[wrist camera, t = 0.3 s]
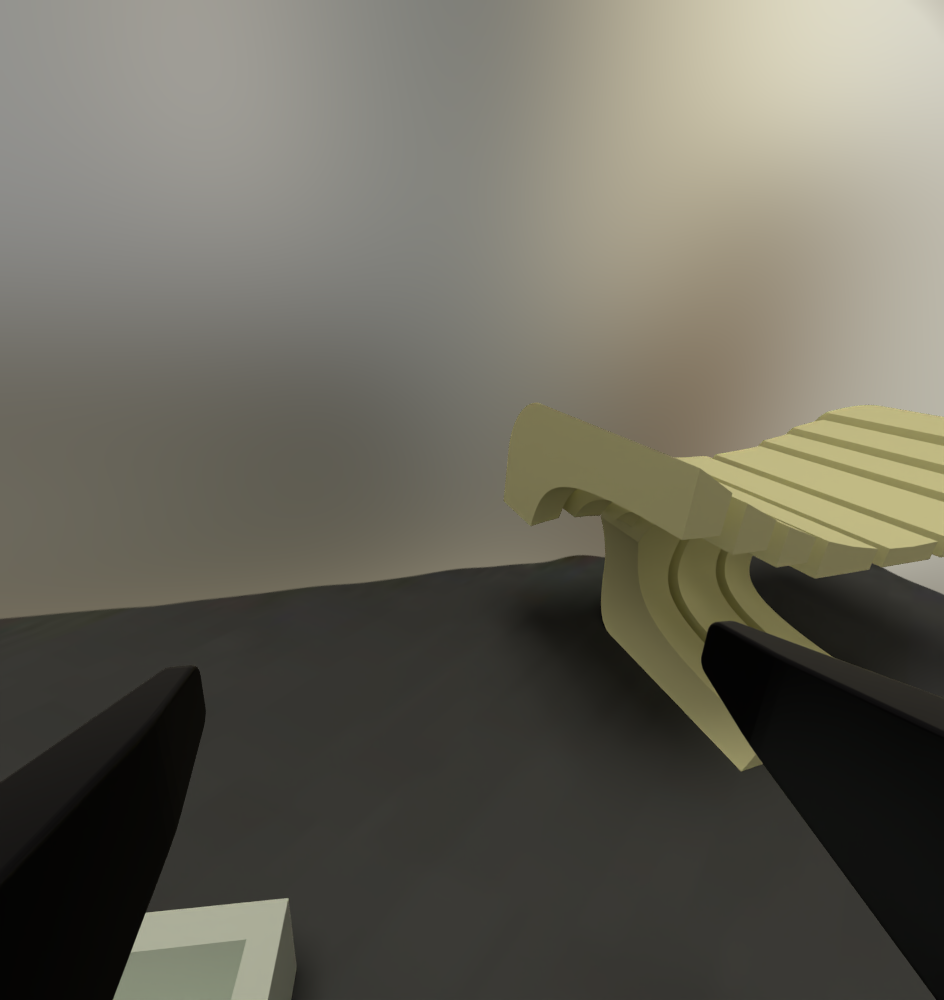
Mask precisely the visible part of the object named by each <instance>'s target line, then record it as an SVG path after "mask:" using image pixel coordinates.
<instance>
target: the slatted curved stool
mask: <svg viewBox="0 0 944 1000" xmlns="http://www.w3.org/2000/svg"><path fill="white" fill-rule="evenodd" d="M504 502H505V503H506V504H507V505H509V506H510V507H511V508H512V509H513V510H514V511H515V512H516V513H517V514H518V515H519V516H520V517H521V518H523V519H524V520H525V521H526V522H527V523H528V524H529V525H530V526H533V525H536V524H539V523H542V522H545V521H549V520H553V519H556V518H559V516H560V514H561V511H562V508H563V509H565V510H566V511H567V512H569V513H570V514H571V515H573V516H574V517H582V516H600V515H601V519H602V524H603V529H604V537H605V566H604V573H603V582H602V593H601V613H602V619H603V622H604V625H605V628H606V630H607V631H608V633H609V634H610V635H611V636H612V637H613V638H614V639H615V640H616V641H617V642H618V643H619V644H620V645H621V647H622V648H623V649H624V650H625V651H626V652H627V653H628V654H629V655H630V656H631V657H632V658H633V659H634V660H635V661H636V662H637V663H638V664H639V665H640V666H641V667H642V668H643V669H644V671H645V672H646V673H647V674H648V675H649V676H650V677H651V678H652V679H653V680H654V681H655V682H656V683H657V684H658V685H659V686H660V687H661V688H662V689H663V690H664V691H665V692H666V693H667V695H668V696H669V697H670V698H671V699H672V700H673V701H674V702H675V703H676V704H677V705H678V706H679V707H680V708H681V709H682V710H683V711H684V712H685V713H686V714H687V715H688V716H689V717H690V719H691V720H692V721H693V722H694V723H695V724H696V725H697V726H698V727H699V728H700V729H701V730H702V731H703V732H704V733H705V734H706V735H707V736H708V737H709V738H710V739H711V740H712V741H713V743H714V744H715V745H716V746H717V747H718V748H719V749H720V750H721V751H722V752H723V753H724V754H725V755H726V756H727V757H728V758H729V759H730V760H731V761H732V762H733V763H734V764H735V765H736V767H737V768H738V769H739V770H740V771H744V770H747V769H750V768H753V767H756V766H759V765H762V764H763V763H762V762H761V760H760V759H759V758H758V756H757V755H756V753H755V752H754V751H753V749H752V748H751V746H750V745H749V743H748V742H747V740H746V739H745V737H744V736H743V734H742V733H741V731H740V729H739V728H738V726H737V725H736V723H735V721H734V720H733V718H732V716H731V715H730V713H729V712H728V710H727V708H726V707H725V705H724V703H723V702H722V700H721V699H720V697H719V695H718V694H717V692H716V690H715V689H714V687H713V686H712V684H711V682H710V681H709V679H708V677H707V676H706V674H705V672H704V671H703V668H702V664H701V656H702V652H703V648H704V644H705V640H706V635H707V631H708V628H709V626H710V625H711V624H712V623H714V622H721V621H735V622H738V623H741V624H744V625H746V626H749V627H752V628H755V629H757V630H760V631H763V632H765V633H768V634H771V635H774V636H776V637H779V638H782V639H784V640H787V641H790V642H793V643H795V644H798V645H801V646H804V647H806V648H809V649H812V650H814V651H817V652H820V653H823V654H825V655H828V656H831V655H829V654H828V653H826V652H825V651H824V650H822V649H821V648H819V647H818V646H817V645H815V644H814V643H813V642H811V641H810V640H809V639H807V638H806V637H805V636H803V635H802V634H801V633H799V632H798V631H797V630H796V629H794V628H793V627H792V626H791V625H789V624H788V623H787V622H786V621H785V620H784V619H782V618H781V617H780V616H779V615H778V614H777V613H776V612H775V611H774V610H773V609H772V608H771V607H770V606H769V605H768V604H767V603H766V602H765V601H764V600H763V599H762V598H761V597H760V595H759V594H758V593H757V591H756V589H755V588H754V586H753V584H752V582H751V578H750V573H749V567H750V562H751V558H752V556H755V557H757V558H759V559H761V560H763V561H765V562H767V563H769V564H770V565H772V566H774V567H783V566H791V567H793V568H795V569H797V570H799V571H800V572H802V573H804V574H806V575H808V576H810V577H812V578H814V579H816V578H822V577H828V576H834V575H840V574H846V573H851V572H857V571H863V570H869V569H870V566H871V564H872V563H873V564H875V565H878V566H880V567H887V566H893V565H898V564H904V563H910V562H916V561H922V560H928V559H930V557H931V555H932V554H933V555H935V556H938V557H944V417H941V416H935V415H929V414H923V413H918V412H912V411H906V410H901V409H895V408H889V407H883V406H877V405H860V406H852V407H846V408H842V409H837V410H833V411H830V412H826V413H825V414H823V415H822V416H820V417H819V418H818V419H817V420H816V421H815V422H811V423H808V424H804V425H800V426H797V427H794V428H792V429H791V430H790V431H789V432H788V433H787V434H786V435H783V436H779V437H775V438H771V439H768V440H764V441H763V442H762V443H761V444H760V445H759V446H758V447H754V448H748V449H743V450H738V451H733V452H728V453H722V454H716V455H715V456H714V457H713V458H710V457H707V456H699V457H685V458H673V457H671V456H669V455H666V454H664V453H661V452H659V451H656V450H654V449H651V448H649V447H646V446H644V445H641V444H639V443H637V442H634V441H632V440H629V439H627V438H624V437H622V436H619V435H617V434H614V433H612V432H609V431H606V430H604V429H602V428H599V427H597V426H594V425H592V424H589V423H587V422H584V421H582V420H580V419H577V418H575V417H572V416H569V415H567V414H564V413H562V412H560V411H557V410H554V409H552V408H550V407H547V406H545V405H542V404H540V403H532V404H529V405H528V406H526V407H525V408H524V409H523V410H522V411H521V412H520V414H519V416H518V417H517V419H516V421H515V424H514V427H513V430H512V433H511V438H510V444H509V453H508V463H507V472H506V483H505V493H504ZM831 657H832V656H831ZM833 658H834V657H833Z"/></svg>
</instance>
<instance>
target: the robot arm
mask: <svg viewBox="0 0 944 1000" xmlns="http://www.w3.org/2000/svg"><path fill="white" fill-rule="evenodd" d="M701 664H702V668H703V671H704V672H705V674H706V676H707V677H708V679H709V681H710V682H711V684H712V686H713V687H714V689H715V690H716V692H717V694H718V695H719V697H720V699H721V700H722V702H723V703H724V705H725V707H726V708H727V710H728V712H729V713H730V715H731V716H732V718H733V720H734V721H735V723H736V725H737V726H738V728H739V729H740V731H741V733H742V734H743V736H744V737H745V739H746V740H747V742H748V743H749V745H750V746H751V748H752V749H753V751H754V752H755V753H756V755H757V756H758V758H759V759H760V760H761V762H762V763H763V765H764V766H765V767H766V769H767V770H768V771H769V773H770V774H771V775H772V777H773V778H774V779H775V781H776V782H777V784H778V785H779V786H780V788H781V789H782V790H783V792H784V793H785V794H786V796H787V797H788V799H789V800H790V801H791V803H792V804H793V805H794V807H795V808H796V809H797V811H798V812H799V814H800V815H801V816H802V818H803V819H804V820H805V822H806V823H807V824H808V826H809V827H810V828H811V830H812V831H813V833H814V834H815V835H816V837H817V838H818V839H819V841H820V842H821V843H822V845H823V846H824V848H825V849H826V850H827V852H828V853H829V854H830V856H831V857H832V858H833V860H834V861H835V863H836V864H837V865H838V867H839V868H840V869H841V871H842V872H843V873H844V875H845V876H846V877H847V879H848V880H849V882H850V883H851V884H852V886H853V887H854V888H855V890H856V891H857V892H858V894H859V895H860V897H861V898H862V899H863V901H864V902H865V903H866V905H867V906H868V907H869V909H870V910H871V912H872V913H873V914H874V916H875V917H876V918H877V920H878V921H879V922H880V924H881V925H882V926H883V928H884V929H885V931H886V932H887V933H888V935H889V936H890V937H891V939H892V940H893V941H894V943H895V944H896V946H897V947H898V948H899V950H900V951H901V952H902V954H903V955H904V956H905V958H906V959H907V960H908V962H909V963H910V965H911V966H912V967H913V969H914V970H915V971H916V973H917V974H918V975H919V977H920V978H921V980H922V981H923V982H924V984H925V985H926V986H927V988H928V989H929V990H930V992H931V993H932V995H933V996H934V997H935V999H936V1000H944V698H942V697H940V696H937V695H934V694H931V693H929V692H926V691H923V690H921V689H918V688H915V687H912V686H910V685H907V684H904V683H902V682H899V681H896V680H893V679H891V678H888V677H885V676H882V675H880V674H877V673H874V672H872V671H869V670H866V669H863V668H861V667H858V666H855V665H853V664H850V663H847V662H844V661H842V660H839V659H836V658H833V657H831V656H828V655H825V654H823V653H820V652H817V651H814V650H812V649H809V648H806V647H804V646H801V645H798V644H795V643H793V642H790V641H787V640H784V639H782V638H779V637H776V636H774V635H771V634H768V633H765V632H763V631H760V630H757V629H755V628H752V627H749V626H746V625H744V624H741V623H738V622H735V621H721V622H714V623H712V624H711V625H710V626H709V628H708V631H707V635H706V640H705V644H704V648H703V652H702V656H701ZM205 715H206V709H205V702H204V695H203V689H202V682H201V675H200V671H199V669H198V668H197V667H196V666H194V665H187V666H174V667H167V668H165V669H163V670H162V671H160V672H159V673H157V674H156V675H154V676H153V677H152V678H150V679H149V680H147V681H146V682H144V683H143V684H141V685H140V686H139V687H137V688H136V689H134V690H133V691H131V692H130V693H128V694H127V695H126V696H124V697H123V698H121V699H120V700H118V701H117V702H115V703H114V704H113V705H111V706H110V707H108V708H107V709H105V710H104V711H102V712H101V713H100V714H98V715H97V716H95V717H94V718H92V719H91V720H89V721H88V722H87V723H85V724H84V725H82V726H81V727H79V728H78V729H76V730H75V731H74V732H72V733H71V734H69V735H68V736H66V737H65V738H63V739H62V740H61V741H59V742H58V743H56V744H55V745H53V746H52V747H50V748H49V749H48V750H46V751H45V752H43V753H42V754H40V755H39V756H37V757H36V758H35V759H33V760H32V761H30V762H29V763H27V764H26V765H24V766H23V767H22V768H20V769H19V770H17V771H16V772H14V773H13V774H11V775H10V776H9V777H7V778H6V779H4V780H3V781H1V782H0V1000H113V998H114V996H115V993H116V990H117V988H118V985H119V982H120V980H121V977H122V975H123V972H124V969H125V967H126V964H127V961H128V959H129V956H130V953H131V951H132V948H133V945H134V943H135V940H136V937H137V935H138V932H139V929H140V927H141V924H142V921H143V919H144V916H145V913H146V911H147V908H148V905H149V903H150V900H151V898H152V895H153V892H154V890H155V887H156V884H157V882H158V879H159V876H160V874H161V871H162V868H163V866H164V863H165V860H166V858H167V855H168V852H169V850H170V847H171V844H172V841H173V838H174V835H175V833H176V830H177V826H178V823H179V819H180V816H181V812H182V808H183V804H184V801H185V797H186V793H187V789H188V785H189V781H190V778H191V774H192V770H193V766H194V762H195V759H196V755H197V751H198V747H199V743H200V739H201V736H202V732H203V728H204V724H205Z"/></svg>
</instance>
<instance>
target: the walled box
mask: <svg viewBox="0 0 944 1000" xmlns="http://www.w3.org/2000/svg"><path fill="white" fill-rule="evenodd" d="M296 969H297V965H296V957H295V949H294V941H293V933H292V924H291V916H290V908H289V900H288V898H286V899H276V900H266V901H256V902H247V903H237V904H227V905H218V906H208V907H198V908H188V909H179V910H169V911H159V912H149V913H145V916H144V919H143V921H142V924H141V927H140V929H139V932H138V935H137V937H136V940H135V943H134V945H133V948H132V951H131V953H130V956H129V959H128V961H127V964H126V967H125V969H124V972H123V975H122V977H121V980H120V982H119V985H118V988H117V990H116V993H115V996H114V998H113V1000H291V998H292V993H293V987H294V981H295V975H296Z"/></svg>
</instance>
